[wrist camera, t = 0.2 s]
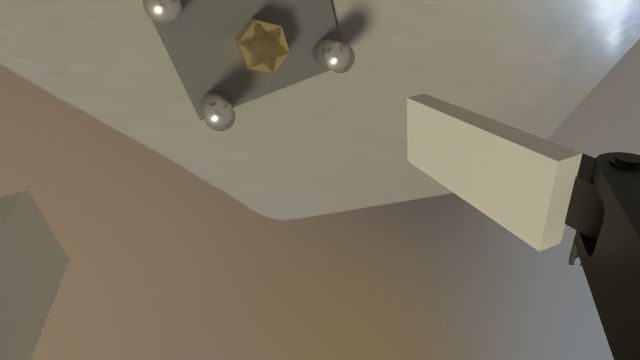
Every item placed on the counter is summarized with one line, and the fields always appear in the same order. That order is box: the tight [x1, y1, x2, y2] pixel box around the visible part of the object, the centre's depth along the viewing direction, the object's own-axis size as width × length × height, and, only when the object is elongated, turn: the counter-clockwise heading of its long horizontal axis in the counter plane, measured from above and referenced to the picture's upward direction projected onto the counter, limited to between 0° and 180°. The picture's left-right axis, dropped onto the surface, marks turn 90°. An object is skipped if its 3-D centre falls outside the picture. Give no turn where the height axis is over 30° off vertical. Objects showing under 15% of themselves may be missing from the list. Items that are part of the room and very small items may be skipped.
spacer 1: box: [143, 0, 182, 24], centre depth 31 cm, size 3×3×5 cm
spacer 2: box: [201, 91, 235, 131], centre depth 36 cm, size 3×3×5 cm
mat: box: [153, 0, 340, 120], centre depth 36 cm, size 15×17×1 cm
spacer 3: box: [313, 38, 355, 73], centre depth 38 cm, size 3×3×5 cm
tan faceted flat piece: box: [234, 18, 290, 73], centre depth 36 cm, size 5×4×2 cm
